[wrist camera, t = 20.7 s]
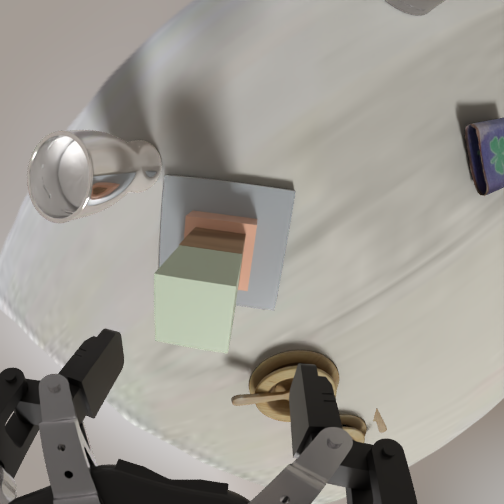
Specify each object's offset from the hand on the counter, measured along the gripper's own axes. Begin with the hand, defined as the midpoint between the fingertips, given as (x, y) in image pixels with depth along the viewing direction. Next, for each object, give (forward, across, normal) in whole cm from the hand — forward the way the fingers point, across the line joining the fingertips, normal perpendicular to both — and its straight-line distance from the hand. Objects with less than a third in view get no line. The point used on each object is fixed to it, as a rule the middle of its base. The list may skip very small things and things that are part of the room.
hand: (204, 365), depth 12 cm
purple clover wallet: (+23, -28, -14) cm, 39 cm away
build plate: (+22, +2, +2) cm, 22 cm away
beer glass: (+22, +13, -6) cm, 26 cm away
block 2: (+12, +2, +1) cm, 12 cm away
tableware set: (+22, -15, +28) cm, 39 cm away
